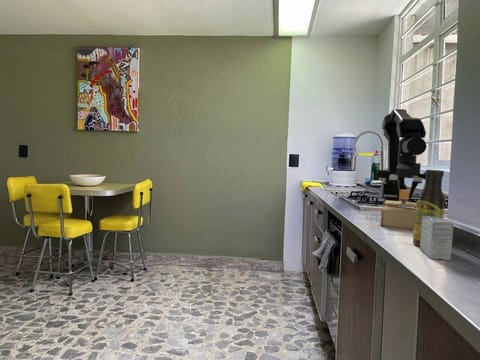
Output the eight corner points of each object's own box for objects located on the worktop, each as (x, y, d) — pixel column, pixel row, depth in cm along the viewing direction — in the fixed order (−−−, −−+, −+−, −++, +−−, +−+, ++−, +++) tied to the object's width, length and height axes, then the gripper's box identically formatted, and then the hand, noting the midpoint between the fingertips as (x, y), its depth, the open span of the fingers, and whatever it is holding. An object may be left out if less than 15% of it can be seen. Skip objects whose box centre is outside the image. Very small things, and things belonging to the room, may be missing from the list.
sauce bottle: (407, 243, 91) (413, 168, 90) (423, 242, 94) (429, 169, 92) (429, 250, 85) (436, 170, 84) (446, 248, 88) (453, 170, 86)
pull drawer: (386, 201, 126) (387, 188, 126) (422, 205, 121) (423, 190, 120) (384, 204, 120) (385, 189, 119) (422, 207, 115) (424, 192, 114)
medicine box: (451, 261, 77) (454, 223, 77) (429, 259, 78) (432, 221, 78) (438, 251, 85) (441, 216, 84) (418, 249, 86) (421, 215, 85)
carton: (384, 218, 126) (385, 203, 126) (421, 223, 121) (422, 207, 120) (380, 226, 113) (381, 209, 113) (421, 231, 108) (423, 213, 107)
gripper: (375, 154, 116) (372, 200, 117) (439, 156, 108) (435, 205, 109) (379, 154, 126) (376, 196, 127) (438, 156, 117) (434, 201, 119)
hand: (403, 200), depth 120 cm, fingers closed on pull drawer, 3 cm apart
